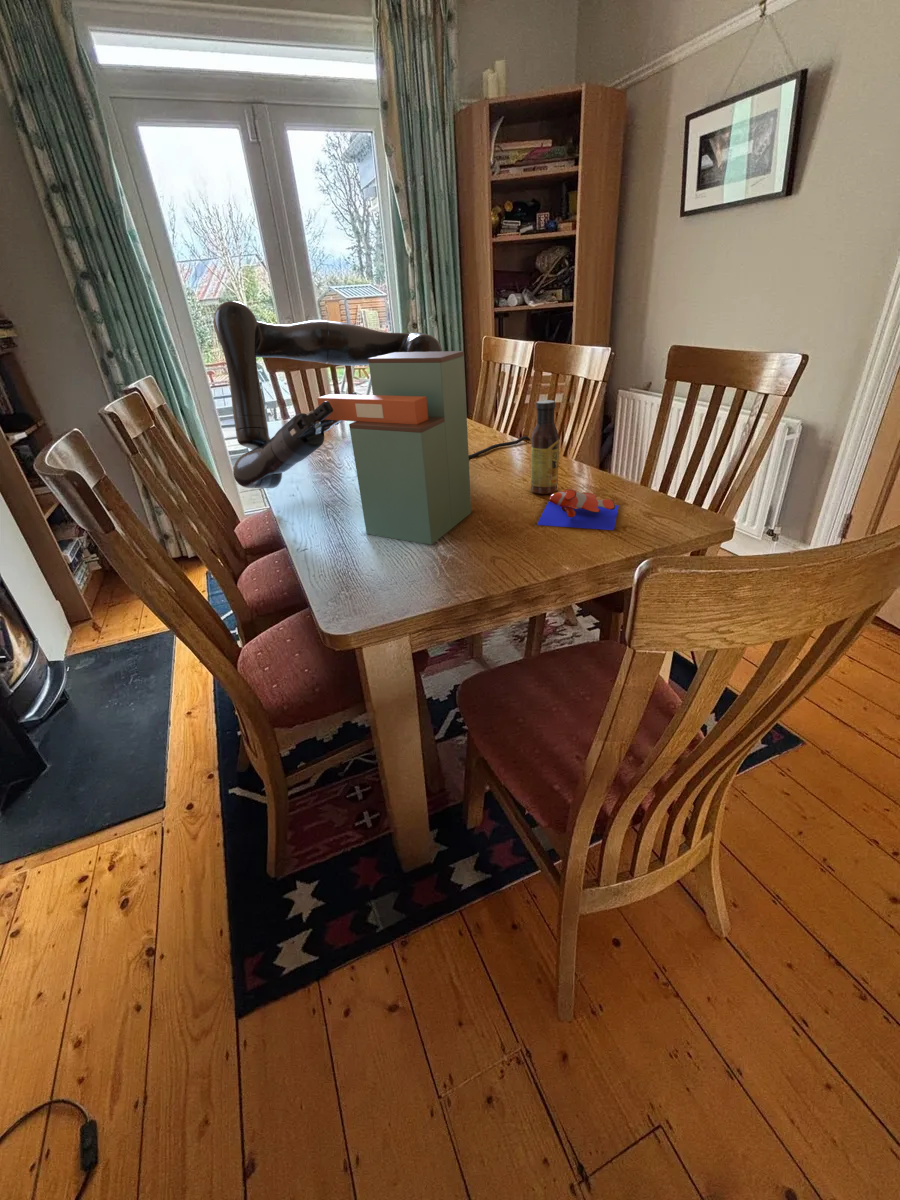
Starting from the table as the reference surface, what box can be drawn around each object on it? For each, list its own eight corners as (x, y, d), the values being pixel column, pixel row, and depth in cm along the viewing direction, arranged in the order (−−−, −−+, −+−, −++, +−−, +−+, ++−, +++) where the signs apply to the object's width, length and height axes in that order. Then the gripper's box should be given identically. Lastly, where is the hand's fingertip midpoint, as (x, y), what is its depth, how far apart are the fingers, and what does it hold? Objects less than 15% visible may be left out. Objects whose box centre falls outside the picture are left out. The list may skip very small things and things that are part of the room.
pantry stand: (366, 534, 109) (339, 365, 92) (411, 504, 122) (394, 352, 105) (431, 545, 102) (415, 364, 85) (471, 512, 115) (463, 351, 98)
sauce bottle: (557, 495, 120) (560, 404, 110) (529, 495, 121) (530, 405, 111) (557, 486, 126) (561, 398, 115) (531, 486, 127) (532, 399, 117)
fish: (547, 495, 106) (554, 481, 112) (546, 517, 108) (553, 502, 115) (614, 498, 102) (617, 484, 108) (612, 521, 104) (615, 505, 111)
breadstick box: (320, 419, 103) (316, 397, 101) (334, 414, 106) (330, 393, 104) (416, 424, 93) (414, 401, 91) (428, 419, 96) (426, 396, 94)
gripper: (262, 431, 105) (307, 389, 94) (310, 416, 115) (355, 376, 105) (283, 465, 106) (330, 427, 96) (328, 447, 117) (375, 411, 107)
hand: (343, 401), depth 101 cm, fingers open, 8 cm apart
